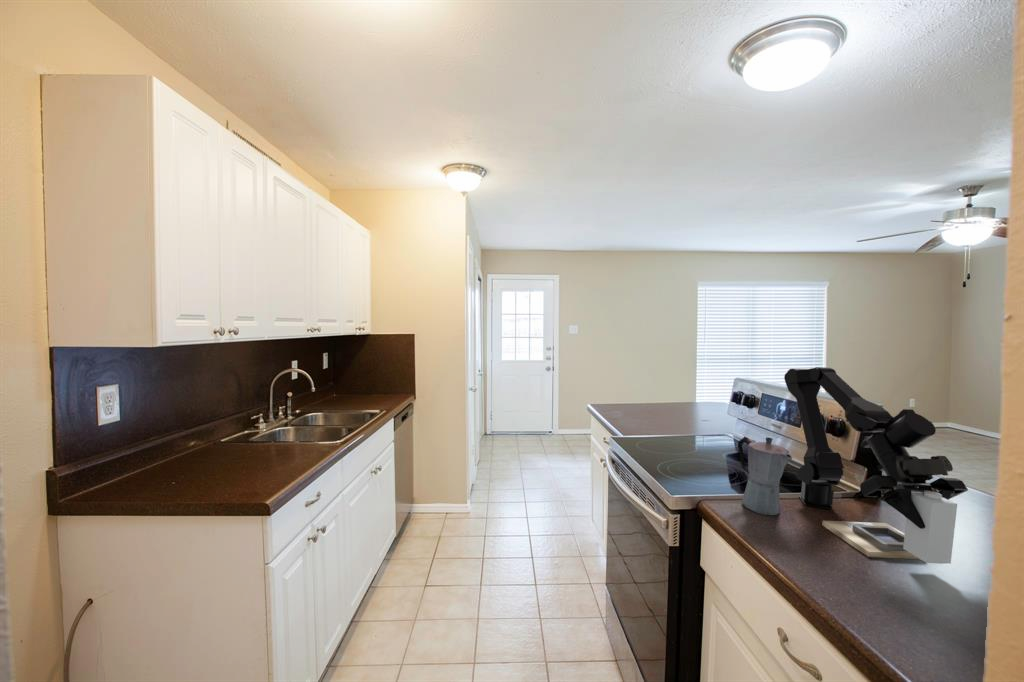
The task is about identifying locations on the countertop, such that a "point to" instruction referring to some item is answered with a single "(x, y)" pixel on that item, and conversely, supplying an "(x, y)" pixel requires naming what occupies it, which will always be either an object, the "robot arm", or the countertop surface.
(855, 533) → the baseplate
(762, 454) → the moka pot
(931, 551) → the white rectangular bottle
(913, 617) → the countertop surface
